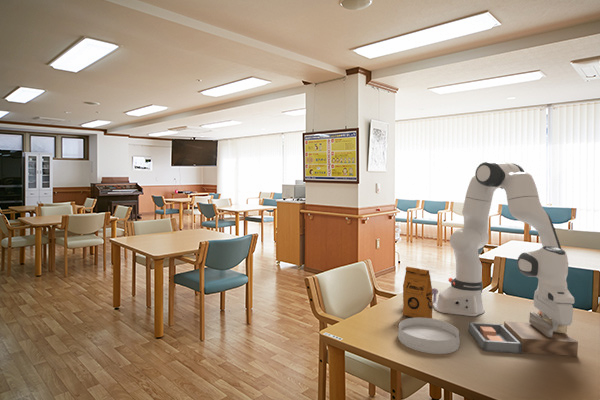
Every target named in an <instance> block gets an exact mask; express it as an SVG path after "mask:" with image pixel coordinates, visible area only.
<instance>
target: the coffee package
mask: <svg viewBox="0 0 600 400" xmlns="http://www.w3.org/2000/svg"><path fill="white" fill-rule="evenodd" d="M402 284H403V285H402V302H403V304H402V305H403V306H402V315H403V316H406V317H409V318H419V317H421V318H431V319H433V311H434V310H433V308H434V307H433V296H432V289H433V286H432V279H431V274H430V270H429V269H422V268H418V267H413V266H412V267H411V266H406V267H405V274H404V280H403V283H402Z"/></svg>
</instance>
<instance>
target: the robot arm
mask: <svg viewBox="0 0 600 400" xmlns="http://www.w3.org/2000/svg"><path fill="white" fill-rule="evenodd" d="M499 188H500V189H501V190H502V189H503V190H504V192H505V194H506V201H507V207H508V211H509V213H510V215H511V216H512V217H513V218H515V219H516V220H518V221H519V222H522V223H525V224H527V225H530V226H532V228H534V229H535V230H536V232H537V233H538V237H539V239H540V243H541V245H542V247H541V248H540V249H537V250H533V251H532V250H531V251H527V252H521V254H520V255H518V257H517V261H516V265H517V269H518V271H519V272H520V273H521V275H524V276H525V277H529V278H530V277H531V278H532V277H533V278H535V277H536V278H537V279H538V282H537V288H536V290H534V295H533V307H534V308H536V309H537V310H538V311H539V310H540V311H541V312H542V315H543V316H542V318H550V319H552V326H553V331H557V327H558V325H565V326H567V327H570V326H571V325H572V323H573V319H574V316H573V315H574V308H573V307H574V306H573V304H575V297H574V296H573V295H572V294H571V292H570V290H569V289H568V282H567V277H568V274H569V261H568V260H569V259H568V254H567V252H566V251H565V250H564V249H562V247H561V244H560V241H559V238H558V234H557V232H556V228H555V226H554V223H553V221H552V218H551V216H550V214H549V213H548V212H547V211H545V210H544V208H543V206H542V204H541V202H540V197H539V191H538V188H537V185H536V182H535V180H534V178H533V175H532V174H530V173H528V172H525V170H524V169H523V167H522V166H520V165H519V164H516V163H512V162H511V163H510V162H505V161H491V160H490V161H485V162H482V163H480V164H479V165H478V166H477V167H476V169H475V174H474V176H473V177H471V179H470V181H469V185H468V186H467V190H466V193H465V198H464V202H463V206H462V207H463V208H462V216H463V227H462V228H459V229H456V230H455V231H454V232H452V234H451V235H450V237H449V244H450V247H451V248H452V250H453V253H454V258H455V278H453V277H449V278H448V282H449V283H450V286H448V287H447V288H446V289H444V290H442V291H441V292H440V293H438V298H437V300H436V301H434V302H433V301H432V302H433V308H434V310H435V311H437V312H439V313H442V314H451V315H459V316H467V317H477V316H478V315H481V314H484V313H485V309H484V304H483V295H482V293H483V289H484V288H483V287H484V284H483V281H482V279H483V278H482V276H483V271H482V270H483V265H482V262H481V260H480V256H479V250H480V249H482V248H483V247H485V246H486V245H487V244H488V242H489V239H490V236H489V235H490V234H489V230H488V229H489V216H490V215H489V214H490V209H491V208H492V207H491V206H492V201H493V196H494V193H495V191H496V190H497V189H499Z"/></svg>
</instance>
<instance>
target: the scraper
mask: <svg viewBox="0 0 600 400" xmlns="http://www.w3.org/2000/svg"><path fill="white" fill-rule="evenodd" d="M528 321H529V322H528V323H531V324H532V325H533V326H535V327H536V328H537V329H538V330H540V331H541V332H542V333H543V334H544V335H546V336H547V337H552V334H553V332H557V333H566V334H568V326H565V325H558V327H557V331H553V326H552V319H551V318H543V317H541V315H539V314H538V313H536V312H534V311H533V312H532V311H530V312H529V319H528Z"/></svg>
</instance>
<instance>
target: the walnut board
mask: <svg viewBox="0 0 600 400" xmlns="http://www.w3.org/2000/svg"><path fill="white" fill-rule="evenodd" d="M503 326H504V327H505V328H506V329H507V330H508V331H509V332H510V333H511V334H512V335H513V336H514V337H515V338H516V339H517V340H518V341H519V342H520V343H521V344H522V349H521V353H525V354H526V353H527V354H540V355H541V354H542V355H543V354H544V355H556V356H557V355H558V356H569V357H578V352H579V351H578V350H579V349H578V348H579V342H578V341H577V340H576V339H575V338H573V337H572V336H570V335H569V334H568V333H557V332H553V334H552V337H547V336H546V335H544V334H543V333H542V332H541V331H540V330H538V329H537V328H536V327H535V326H533V325H532V324H531V323H530V322H521V321H520V322H519V321H503Z"/></svg>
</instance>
